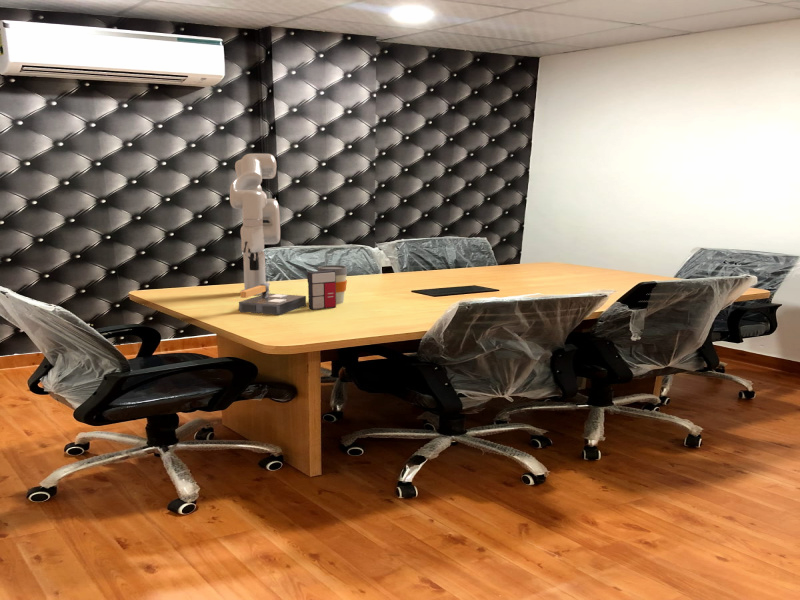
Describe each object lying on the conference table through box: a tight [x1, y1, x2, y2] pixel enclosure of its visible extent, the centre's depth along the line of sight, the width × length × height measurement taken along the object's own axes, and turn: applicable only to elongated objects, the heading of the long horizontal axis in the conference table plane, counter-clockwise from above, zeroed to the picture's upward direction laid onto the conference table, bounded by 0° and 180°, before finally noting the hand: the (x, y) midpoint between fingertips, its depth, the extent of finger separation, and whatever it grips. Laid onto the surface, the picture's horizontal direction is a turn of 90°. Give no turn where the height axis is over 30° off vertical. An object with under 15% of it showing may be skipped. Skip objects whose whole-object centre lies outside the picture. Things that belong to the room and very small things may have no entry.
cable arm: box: [240, 283, 270, 299], centre depth 296 cm, size 20×4×3 cm, turn 163°
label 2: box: [268, 299, 286, 303], centre depth 290 cm, size 6×5×1 cm
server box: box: [238, 291, 307, 316], centre depth 295 cm, size 22×18×6 cm
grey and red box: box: [306, 270, 337, 311], centre depth 296 cm, size 11×4×15 cm, turn 122°
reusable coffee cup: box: [317, 264, 348, 305], centre depth 310 cm, size 13×13×15 cm
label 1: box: [269, 293, 288, 298], centre depth 301 cm, size 6×5×1 cm
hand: (254, 270), depth 288 cm, fingers closed
